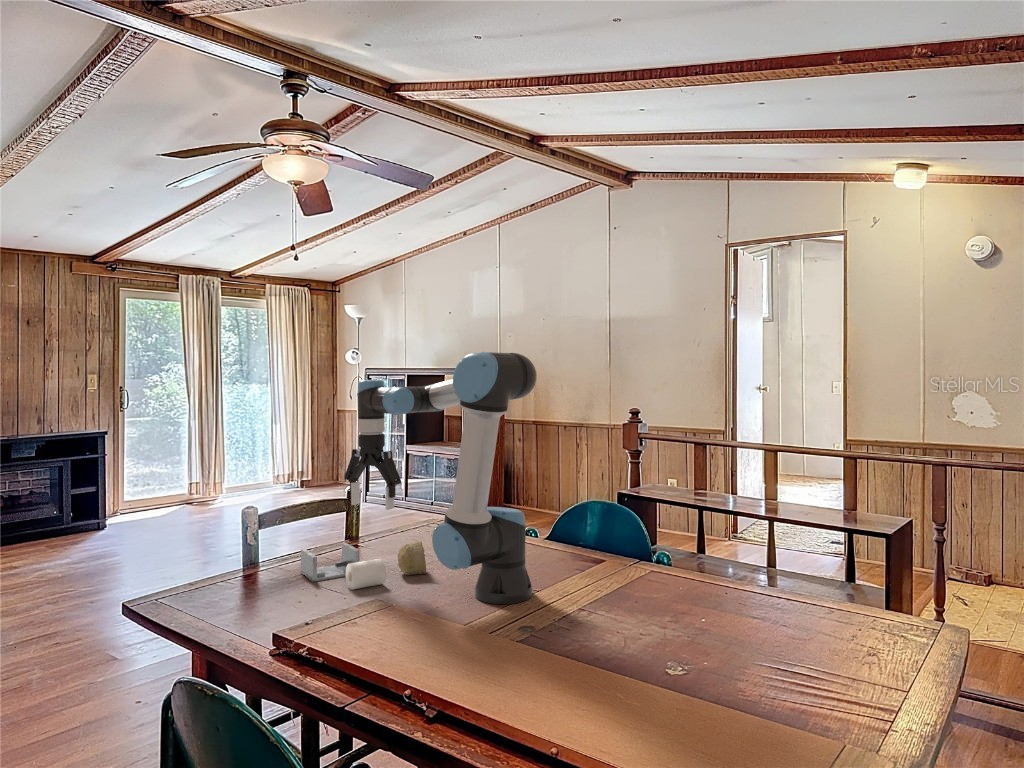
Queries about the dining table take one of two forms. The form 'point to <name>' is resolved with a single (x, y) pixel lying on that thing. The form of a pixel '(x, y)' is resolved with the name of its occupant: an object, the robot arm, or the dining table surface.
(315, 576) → the cradle
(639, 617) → the dining table surface
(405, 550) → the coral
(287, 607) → the dining table surface
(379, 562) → the roll
